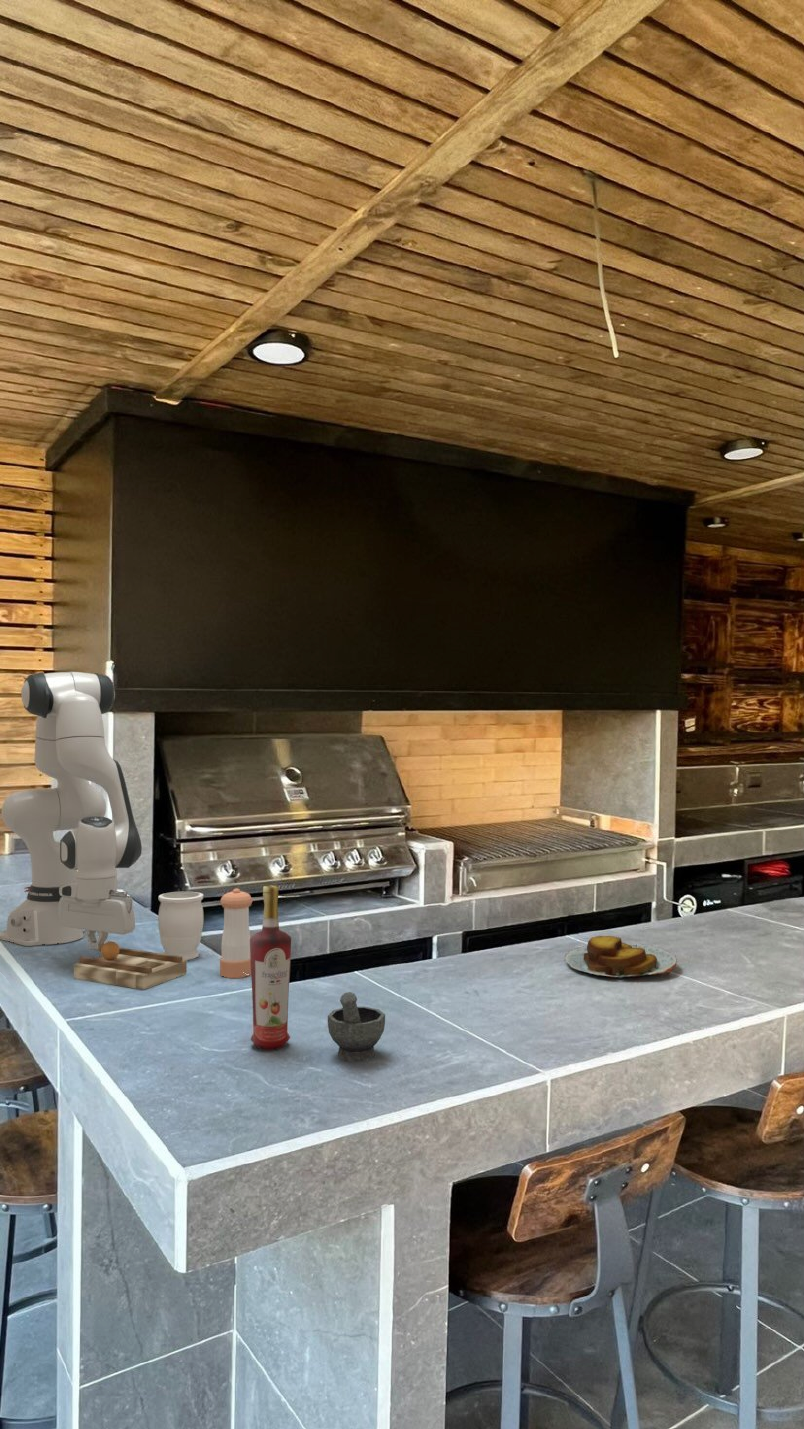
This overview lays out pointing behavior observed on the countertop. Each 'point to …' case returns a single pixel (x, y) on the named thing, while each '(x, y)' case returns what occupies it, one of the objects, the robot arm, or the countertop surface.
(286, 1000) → the liquor
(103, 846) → the robot arm
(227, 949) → the pepper shaker
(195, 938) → the jar
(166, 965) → the lane board
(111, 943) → the ball
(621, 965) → the food on plate
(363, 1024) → the mortar and pestle
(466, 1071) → the countertop surface
